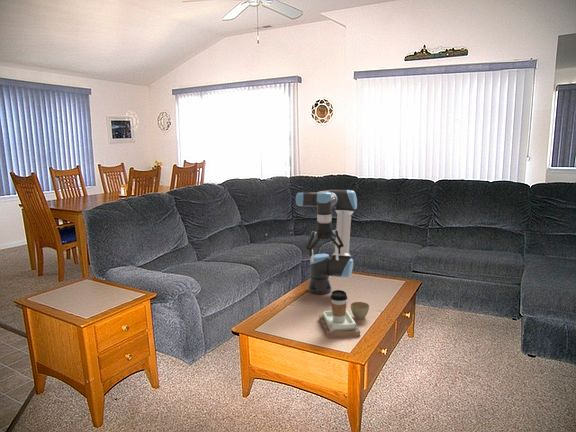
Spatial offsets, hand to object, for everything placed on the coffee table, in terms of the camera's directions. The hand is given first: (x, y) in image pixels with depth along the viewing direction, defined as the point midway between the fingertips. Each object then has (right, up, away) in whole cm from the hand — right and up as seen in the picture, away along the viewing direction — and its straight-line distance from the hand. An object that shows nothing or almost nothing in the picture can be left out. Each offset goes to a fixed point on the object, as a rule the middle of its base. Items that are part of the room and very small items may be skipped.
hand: (324, 260), depth 226 cm
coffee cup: (+6, -30, -10) cm, 32 cm away
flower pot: (+19, -31, +2) cm, 36 cm away
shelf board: (+6, -33, -10) cm, 35 cm away
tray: (+6, -31, -10) cm, 33 cm away
